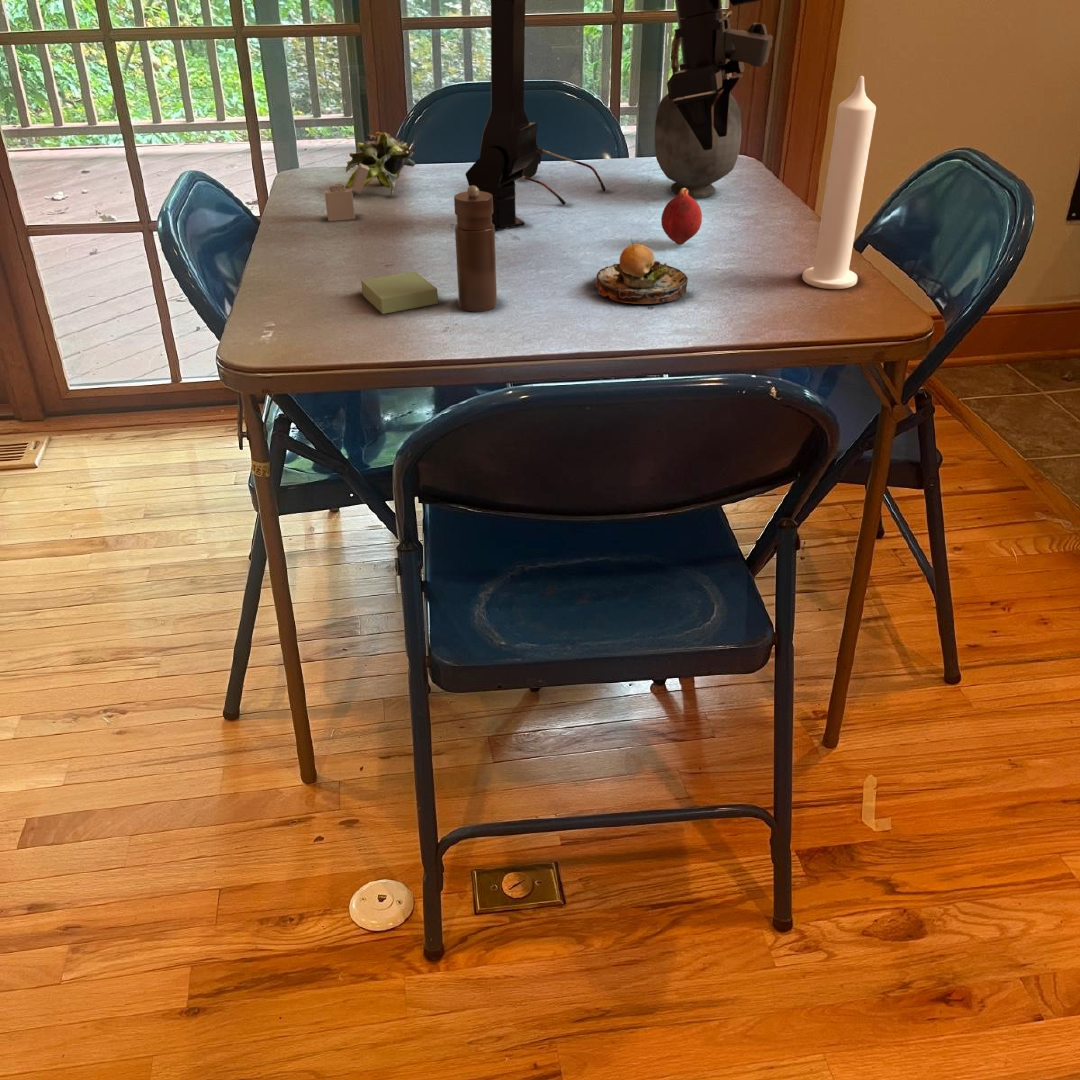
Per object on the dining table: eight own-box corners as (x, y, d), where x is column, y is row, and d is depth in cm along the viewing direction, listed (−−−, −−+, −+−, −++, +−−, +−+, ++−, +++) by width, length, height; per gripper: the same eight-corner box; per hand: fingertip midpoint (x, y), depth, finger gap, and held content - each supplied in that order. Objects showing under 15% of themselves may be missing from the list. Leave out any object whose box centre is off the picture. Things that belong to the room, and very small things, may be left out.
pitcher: (681, 207, 162) (696, -3, 145) (637, 178, 177) (646, -15, 160) (742, 201, 164) (764, -6, 148) (694, 173, 179) (709, -17, 163)
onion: (698, 252, 143) (703, 195, 139) (658, 249, 144) (661, 193, 140) (701, 239, 148) (705, 184, 143) (662, 237, 149) (665, 182, 144)
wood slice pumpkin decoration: (704, 294, 129) (710, 236, 125) (631, 312, 124) (633, 253, 120) (648, 268, 138) (651, 213, 133) (577, 284, 132) (577, 228, 128)
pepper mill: (452, 302, 127) (446, 183, 119) (487, 295, 129) (482, 178, 121) (468, 314, 124) (462, 193, 116) (503, 307, 126) (500, 187, 117)
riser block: (362, 295, 130) (360, 280, 128) (416, 285, 132) (415, 270, 131) (382, 314, 124) (380, 298, 123) (438, 303, 127) (437, 288, 126)
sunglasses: (539, 174, 179) (541, 145, 176) (610, 195, 171) (613, 165, 168) (487, 190, 171) (487, 160, 168) (558, 213, 163) (560, 182, 160)
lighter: (328, 221, 157) (322, 168, 152) (327, 218, 158) (321, 165, 154) (374, 217, 158) (369, 164, 154) (372, 214, 160) (367, 162, 155)
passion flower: (385, 216, 177) (414, 153, 175) (405, 221, 168) (436, 153, 166) (328, 185, 171) (357, 118, 169) (345, 187, 162) (376, 117, 160)
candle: (826, 293, 129) (859, 83, 115) (791, 276, 135) (818, 74, 121) (868, 284, 132) (905, 77, 118) (831, 268, 137) (863, 69, 123)
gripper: (749, 6, 116) (764, 146, 123) (775, -6, 131) (787, 120, 138) (657, 27, 121) (676, 161, 128) (693, 13, 136) (708, 134, 143)
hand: (715, 142), depth 134 cm, fingers open, 9 cm apart
